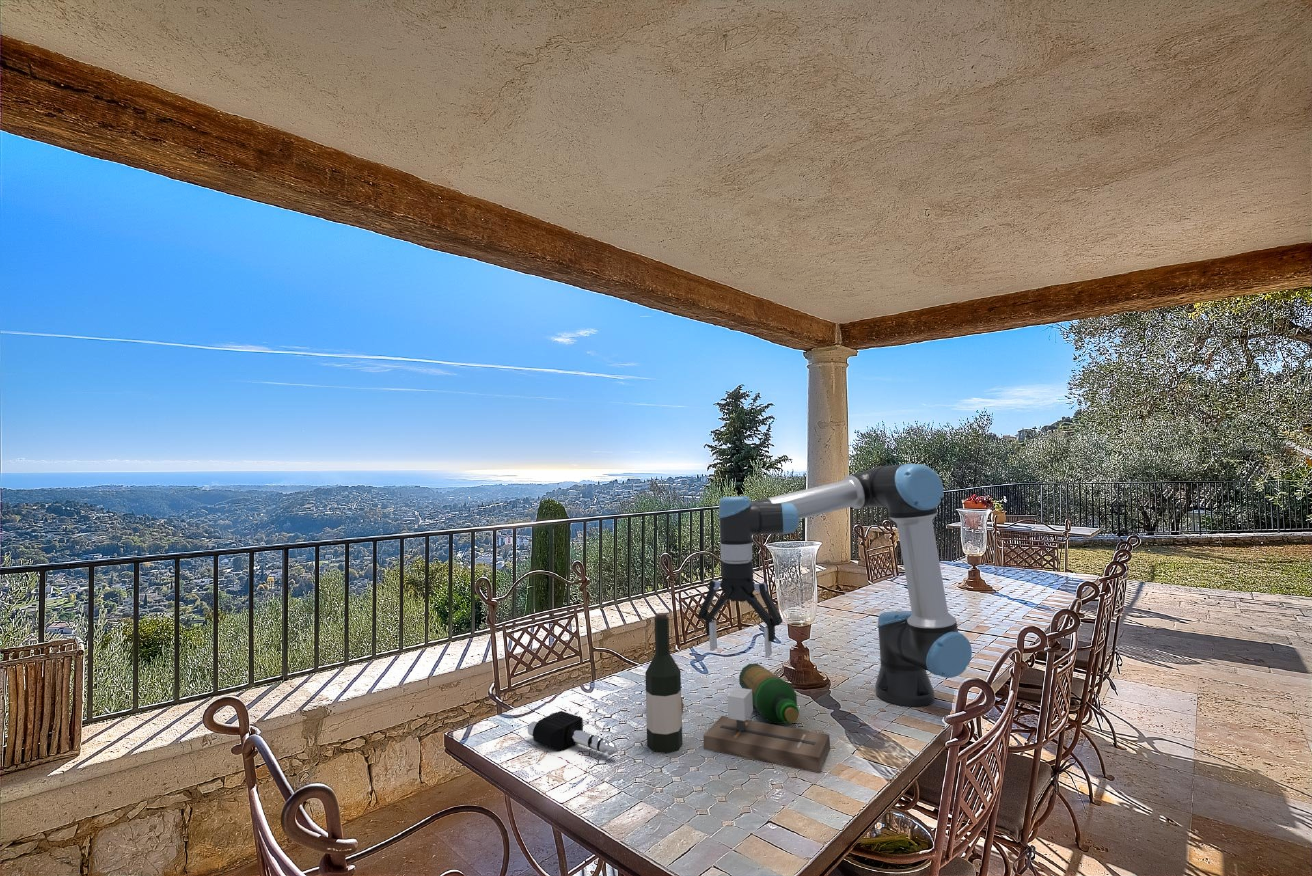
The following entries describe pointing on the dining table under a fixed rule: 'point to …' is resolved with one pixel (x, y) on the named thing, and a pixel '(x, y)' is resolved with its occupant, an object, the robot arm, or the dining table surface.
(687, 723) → the dining table surface
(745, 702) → the fader knob
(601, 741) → the audio adapter
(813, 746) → the fader board
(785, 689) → the bottle
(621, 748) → the dining table surface
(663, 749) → the wine bottle
